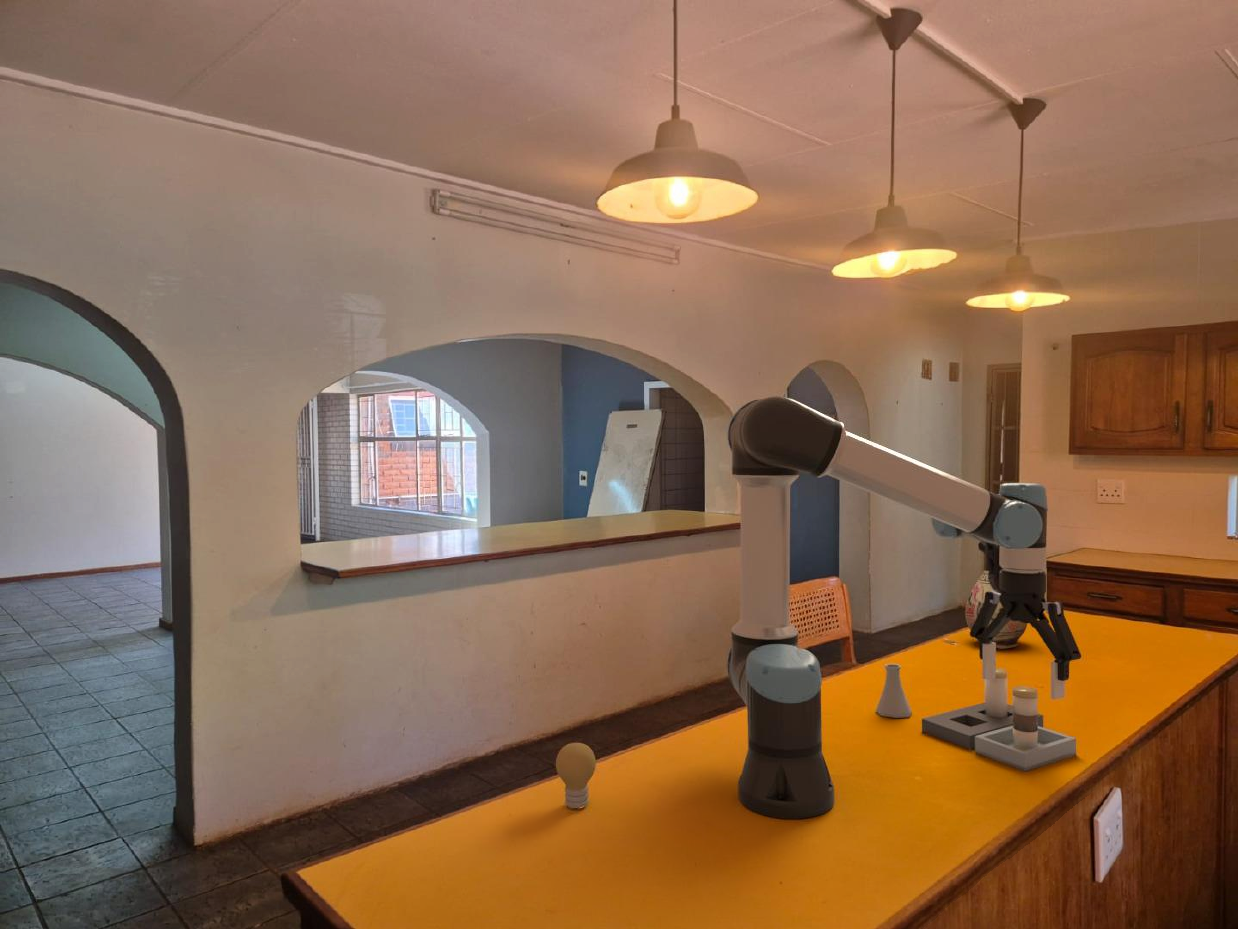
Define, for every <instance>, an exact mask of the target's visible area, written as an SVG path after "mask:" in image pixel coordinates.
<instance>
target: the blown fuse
mask: <svg viewBox="0 0 1238 929" xmlns="http://www.w3.org/2000/svg"><path fill="white" fill-rule="evenodd" d="M1038 696H1039V695H1038V689H1036V688H1033V687H1030V686H1024V685H1022V686H1021V685H1018V686H1013V687H1012V706H1013V748H1016V749H1019V750H1022V751H1026V750H1029V749H1032V748H1035V747H1038V714H1039V713H1038V708H1039V707H1038V706H1039V705H1038Z"/></svg>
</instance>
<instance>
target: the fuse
mask: <svg viewBox="0 0 1238 929" xmlns="http://www.w3.org/2000/svg"><path fill="white" fill-rule="evenodd" d="M984 703H985V715H988V716H991V717H994V718H997V719H1002V718H1005V717H1008V716H1007V704H1008V671H1007V669H1004V668H999V667H996V678H991V679H987V680H985V679H984Z"/></svg>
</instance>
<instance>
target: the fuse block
mask: <svg viewBox="0 0 1238 929" xmlns="http://www.w3.org/2000/svg"><path fill="white" fill-rule="evenodd" d="M1007 716H1008V717H1005V718H1002V719H997V718H994V717H991V716H988V715H985V702H983V703H981V702H980V703H977V704H973V705H971V706H967V707H962V708H958V709H954V710H950V711H947V712H943V713H939V714H935V715H931V716H927V717H922V718H921V732H923V733H926V734H928V735H931V736H933V737H936V738H939V739H941V740H945V741H946V742H950V743H952V744H954V745H958V746H960V747H963V748H965V749H967V750H972V749H975V736H977V735H981V734H984V733H988V732H992V731H995V730H999V729H1002V728H1006V727H1009V726H1013V704H1008V703H1007ZM1038 726H1039V727H1043V728H1044V714H1040V713H1038Z"/></svg>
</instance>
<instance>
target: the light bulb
mask: <svg viewBox="0 0 1238 929" xmlns="http://www.w3.org/2000/svg"><path fill="white" fill-rule="evenodd" d="M555 759H556V760H555V769H556V772H557V775H558V777H559V778H560V779H561V781H562V782H563V783H564V784H565V787H564V793H565V794H564V798H565V799H564V803H565V805H566V806H567V807H568V808H569V807H571V808H580V807H583V806H585V807H586V806H588V804H589V803H590V802H589V800H590V799H589V786H588V783H589V781H590V780H591V779H592V777H593V775H594V773H595V770H596V766H597V761H596V756H595V753H594V751H593V750H592V749H591V748H590V746H589V745H587V744H584V743H583V742H582V743H581V742H570V743H568V744H565V745H564V746H563V747H562V748H561V749H560V750H559V751H558V754H557V756H556V758H555ZM571 808H570V809H571Z"/></svg>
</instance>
